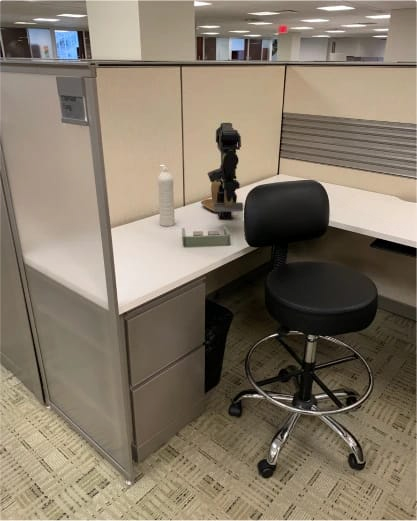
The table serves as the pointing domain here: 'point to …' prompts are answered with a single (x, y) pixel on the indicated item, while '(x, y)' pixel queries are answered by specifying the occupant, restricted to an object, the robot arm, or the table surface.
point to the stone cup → (214, 189)
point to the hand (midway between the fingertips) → (228, 200)
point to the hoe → (227, 205)
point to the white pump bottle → (166, 197)
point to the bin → (206, 239)
